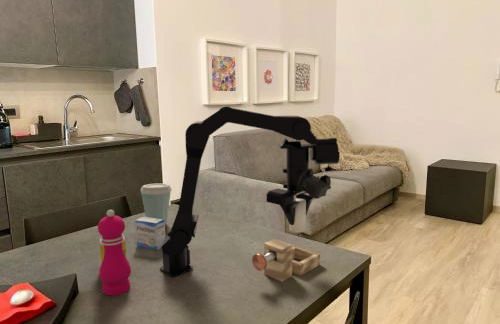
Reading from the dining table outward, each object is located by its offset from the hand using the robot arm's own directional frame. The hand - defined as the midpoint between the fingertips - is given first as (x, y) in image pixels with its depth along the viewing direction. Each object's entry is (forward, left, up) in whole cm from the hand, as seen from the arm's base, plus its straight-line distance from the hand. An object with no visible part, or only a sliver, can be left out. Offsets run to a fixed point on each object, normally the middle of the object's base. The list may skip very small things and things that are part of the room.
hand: (297, 222), depth 103 cm
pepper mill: (-40, +24, -12) cm, 48 cm away
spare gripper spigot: (0, 0, -2) cm, 2 cm away
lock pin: (-11, 0, -8) cm, 14 cm away
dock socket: (-3, 0, -12) cm, 12 cm away
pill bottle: (-35, +35, -12) cm, 51 cm away
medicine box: (-20, +41, -12) cm, 47 cm away
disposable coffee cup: (-8, +56, -12) cm, 58 cm away
